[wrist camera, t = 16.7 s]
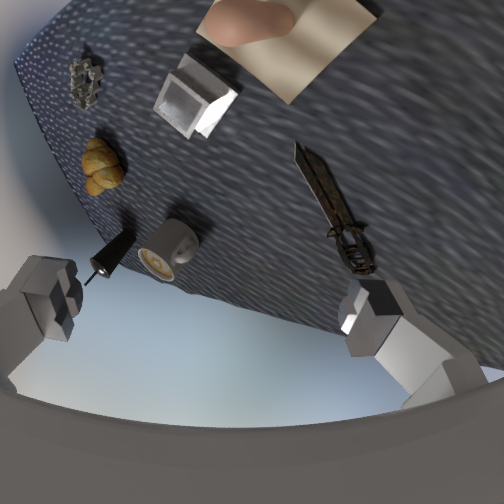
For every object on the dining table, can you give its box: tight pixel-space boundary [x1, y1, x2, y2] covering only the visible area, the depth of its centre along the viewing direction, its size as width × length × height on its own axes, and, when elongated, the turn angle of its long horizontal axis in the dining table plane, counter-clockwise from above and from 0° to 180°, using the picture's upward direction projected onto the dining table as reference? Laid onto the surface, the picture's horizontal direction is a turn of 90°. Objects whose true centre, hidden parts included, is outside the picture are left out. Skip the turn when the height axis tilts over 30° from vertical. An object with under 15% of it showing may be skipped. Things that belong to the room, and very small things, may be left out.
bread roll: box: [82, 137, 124, 196], centre depth 59 cm, size 13×10×8 cm
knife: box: [294, 142, 375, 275], centre depth 44 cm, size 25×6×1 cm, turn 31°
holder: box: [153, 52, 241, 139], centre depth 39 cm, size 10×10×5 cm
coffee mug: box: [138, 218, 199, 281], centre depth 66 cm, size 13×10×10 cm
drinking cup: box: [84, 230, 135, 286], centre depth 78 cm, size 8×8×20 cm
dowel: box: [205, 0, 294, 47], centre depth 22 cm, size 4×4×12 cm
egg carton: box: [70, 58, 103, 113], centre depth 46 cm, size 11×8×4 cm
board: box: [196, 0, 378, 105], centre depth 27 cm, size 16×16×1 cm
